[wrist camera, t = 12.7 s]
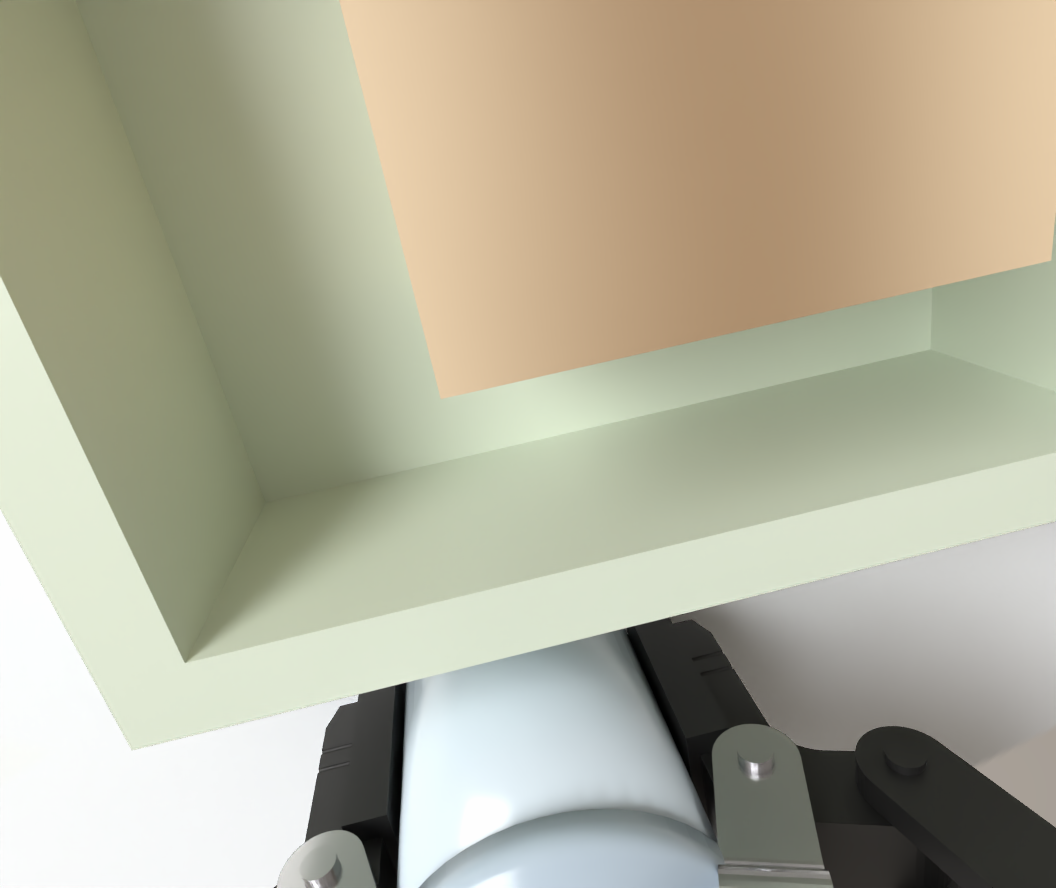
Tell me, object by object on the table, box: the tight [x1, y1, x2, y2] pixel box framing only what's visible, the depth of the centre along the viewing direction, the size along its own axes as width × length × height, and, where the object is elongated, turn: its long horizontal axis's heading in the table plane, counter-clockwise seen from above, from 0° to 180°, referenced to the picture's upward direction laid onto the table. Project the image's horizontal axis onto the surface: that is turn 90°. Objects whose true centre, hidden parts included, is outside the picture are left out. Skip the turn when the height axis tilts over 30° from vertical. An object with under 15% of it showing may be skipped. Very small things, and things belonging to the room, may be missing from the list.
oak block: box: [339, 0, 1056, 399], centre depth 7 cm, size 5×5×6 cm
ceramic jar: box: [397, 628, 725, 888], centre depth 12 cm, size 5×5×7 cm
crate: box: [0, 0, 1056, 750], centre depth 8 cm, size 14×13×5 cm
